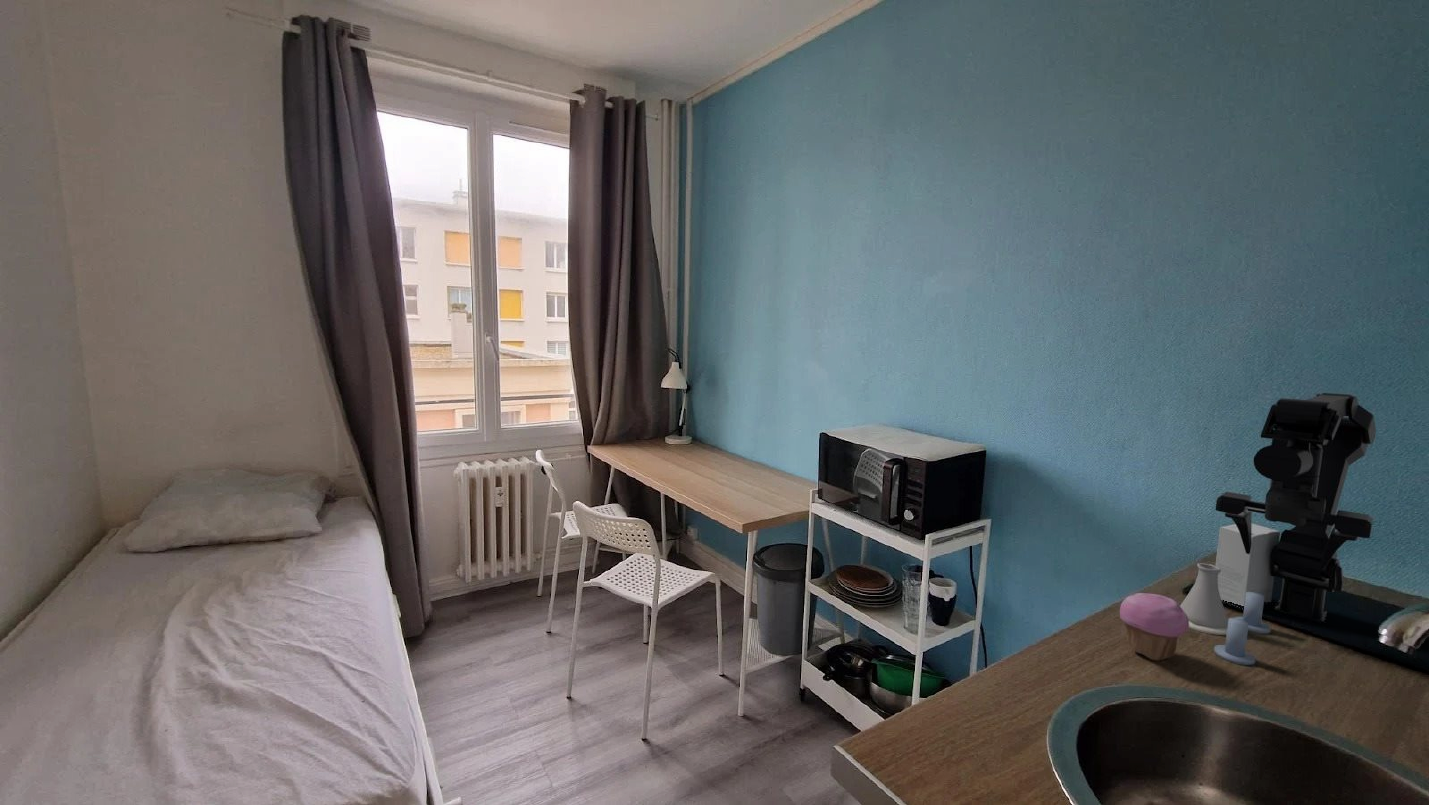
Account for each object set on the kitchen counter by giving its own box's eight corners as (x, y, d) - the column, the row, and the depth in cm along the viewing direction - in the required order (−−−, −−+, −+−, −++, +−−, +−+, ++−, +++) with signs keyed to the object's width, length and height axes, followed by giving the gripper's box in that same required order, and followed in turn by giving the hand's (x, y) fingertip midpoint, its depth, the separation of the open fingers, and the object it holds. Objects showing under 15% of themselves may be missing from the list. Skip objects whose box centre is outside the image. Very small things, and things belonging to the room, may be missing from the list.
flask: (1239, 631, 101) (1245, 576, 100) (1190, 626, 103) (1196, 572, 102) (1214, 612, 108) (1220, 561, 107) (1169, 608, 110) (1174, 557, 109)
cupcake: (1195, 661, 93) (1202, 601, 92) (1166, 675, 89) (1172, 613, 88) (1134, 635, 101) (1139, 580, 100) (1105, 647, 97) (1110, 590, 96)
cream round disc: (1177, 606, 112) (1177, 603, 112) (1239, 624, 105) (1239, 621, 105) (1164, 620, 106) (1164, 617, 106) (1229, 640, 100) (1229, 637, 100)
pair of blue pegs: (1235, 617, 108) (1239, 586, 107) (1272, 627, 104) (1276, 595, 104) (1210, 655, 95) (1215, 620, 94) (1252, 669, 91) (1256, 632, 90)
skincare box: (1237, 591, 119) (1245, 520, 117) (1273, 604, 113) (1282, 530, 112) (1209, 597, 116) (1217, 524, 115) (1245, 610, 111) (1254, 534, 109)
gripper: (1213, 469, 101) (1203, 556, 103) (1375, 492, 87) (1361, 592, 89) (1226, 461, 108) (1217, 542, 110) (1378, 481, 94) (1364, 574, 96)
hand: (1283, 561), depth 101 cm, fingers open, 9 cm apart
